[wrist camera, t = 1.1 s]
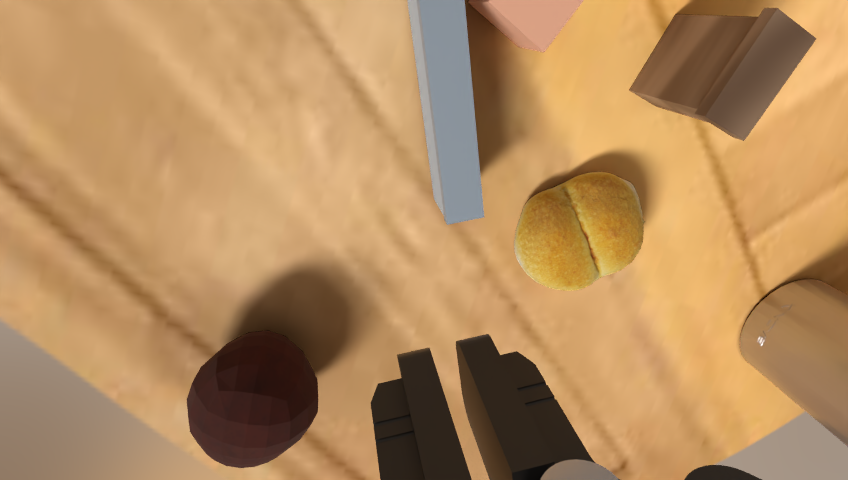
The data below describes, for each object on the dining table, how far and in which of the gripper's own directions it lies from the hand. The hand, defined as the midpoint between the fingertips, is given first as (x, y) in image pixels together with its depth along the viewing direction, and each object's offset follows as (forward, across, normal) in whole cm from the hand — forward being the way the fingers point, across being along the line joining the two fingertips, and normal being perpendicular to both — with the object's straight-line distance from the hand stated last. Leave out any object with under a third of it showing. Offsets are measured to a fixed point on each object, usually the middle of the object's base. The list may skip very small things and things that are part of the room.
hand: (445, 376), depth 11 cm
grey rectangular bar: (+22, -5, -3) cm, 22 cm away
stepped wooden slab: (+22, -20, -2) cm, 30 cm away
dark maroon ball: (+22, +10, +14) cm, 28 cm away
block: (+22, -10, -7) cm, 25 cm away
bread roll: (+23, -13, +9) cm, 28 cm away
